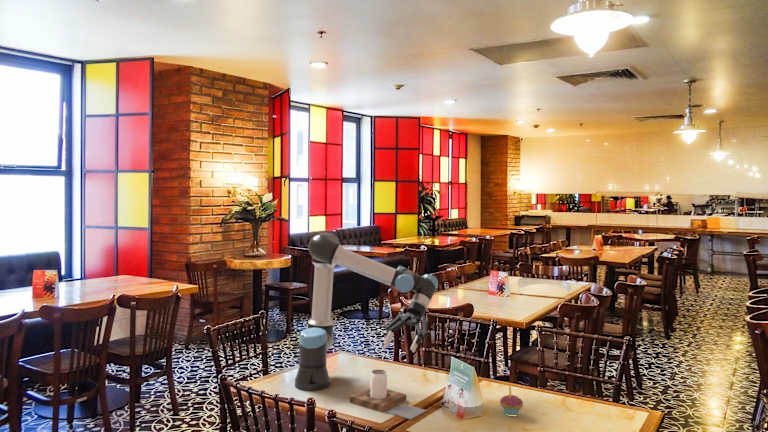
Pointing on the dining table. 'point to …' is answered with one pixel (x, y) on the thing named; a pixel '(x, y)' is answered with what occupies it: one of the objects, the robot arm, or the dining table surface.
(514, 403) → the cupcake
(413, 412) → the mat
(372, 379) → the can
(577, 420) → the dining table surface
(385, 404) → the holder
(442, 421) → the dining table surface
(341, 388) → the dining table surface
